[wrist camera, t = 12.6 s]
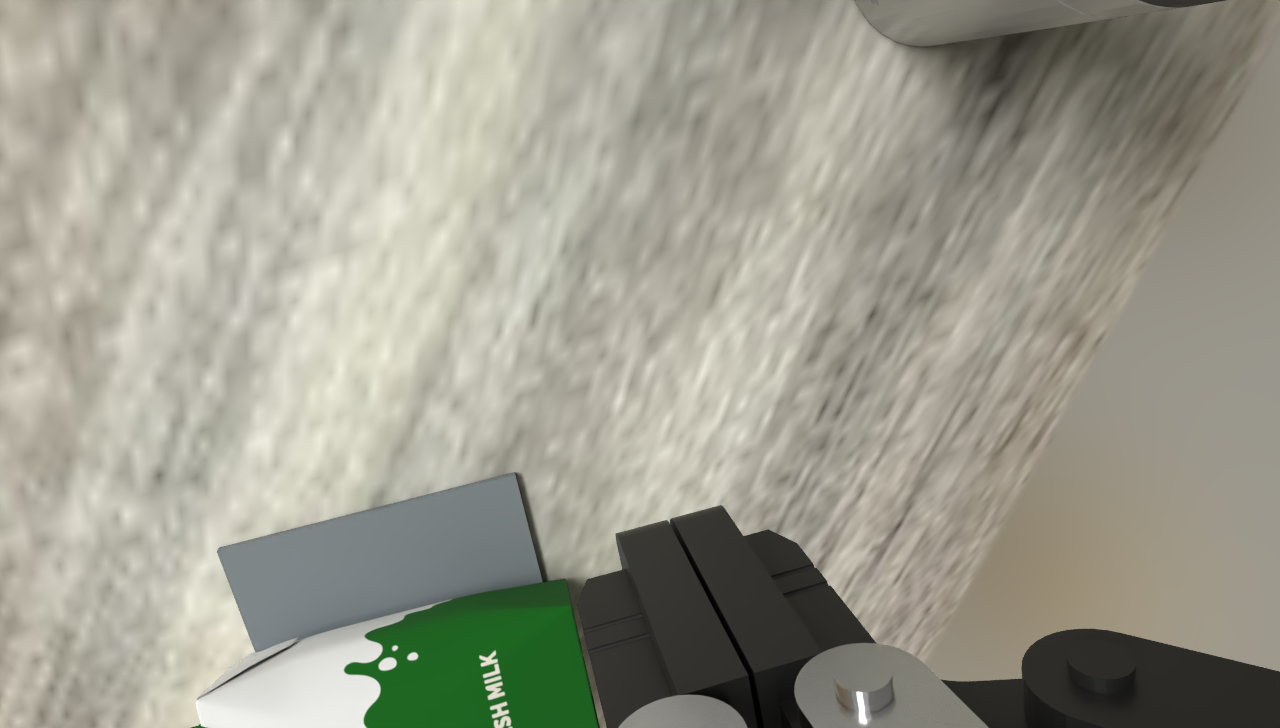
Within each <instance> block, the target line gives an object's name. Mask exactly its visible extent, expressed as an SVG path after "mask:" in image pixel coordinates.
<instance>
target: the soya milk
mask: <svg viewBox="0 0 1280 728" xmlns="http://www.w3.org/2000/svg"><path fill="white" fill-rule="evenodd" d="M573 614H574V612H573V608H572V603H571V599H570V594H569V590H568V586H567V583H566V579H560V580H554V581H548V582H542V583H536V584H530V585H524V586H519V587H513V588H507V589H500V590H494V591H488V592H482V593H477V594H472V595H468V596H463V597H459V598H454V599H450V600H446V601H442V602H438V603H434V604H430V605H427V606H423V607H419V608H415V609H411V610H407V611H403V612H399V613H395V614H391V615H388V616H384V617H380V618H376V619H372V620H368V621H364V622H360V623H357V624H353V625H349V626H345V627H341V628H337V629H334V630H330V631H327V632H323V633H320V634H316V635H313V636H310V637H307V638H304V639H301V640H297V639H298V637H297V638H294V639H291V640H288V641H285V642H283V643H280V644H277V645H275V646H272V647H270V648H268V649H265V650H263V651H260V652H256V653H251V654H249V655H248V656H246V657H245V658H244V659H243V660H242V661H241V662H239V663H237V664H235V665H233V666H231V667H230V668H228V669H227V670H226V671H225V672H224V674H223V675H222V676H221V677H220V678H219V679H217V680H216V681H215V682H214V683H213V684H212V685H211V686H210V687H209V688H208V689H206V690H205V691H204V692H203V693H202V694H201V695H200V696H199V697H198V698H197V699H196V700H195V702H196V708H197V713H198V716H199V720H200V723H201V724H200V725H199V726H195V727H192V728H600V727H599V723H598V718H597V714H596V709H595V705H594V700H593V696H592V695H591V694H592V691H591V690H590V689H591V687H590V686H589V685H590V682H588V681H589V678H588V677H587V676H588V674H587V673H586V672H587V669H586V665H585V661H584V660H583V659H584V657H583V655H582V654H583V653H582V651H581V650H582V648H581V643H580V642H579V641H580V639H579V638H578V637H579V635H578V633H577V632H578V630H577V629H576V628H577V626H576V624H575V623H576V621H575V620H574V619H575V617H574V616H573ZM296 640H297V641H296Z"/></svg>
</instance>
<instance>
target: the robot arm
mask: <svg viewBox="0 0 1280 728" xmlns="http://www.w3.org/2000/svg"><path fill="white" fill-rule="evenodd" d="M855 1H856V4H857V6H858V7H859V9H860V10H861V12H862V13H863V15H864V16H865V18H866V19H867V20H868V22H870V23H871V24H872V25H873V26H874V27H875V28H876V29H877V30H878V31H879V32H880V33H882V34H883V35H885V36H887V37H889V38H890V39H892V40H894V41H896V42H899V43H903V44H906V45H910V46H935V45H941V44H948V43H954V42H961V41H969V40H976V39H983V38H989V37H996V36H1002V35H1009V34H1015V33H1022V32H1028V31H1035V30H1042V29H1048V28H1055V27H1061V26H1068V25H1074V24H1081V23H1087V22H1094V21H1100V20H1107V19H1113V18H1120V17H1126V16H1130V15H1136V14H1143V13H1149V12H1156V11H1162V10H1169V9H1175V8H1182V7H1189V6H1195V5H1201V4H1207V3H1212V2H1218V1H1225V0H855ZM616 541H617V546H618V551H619V556H620V560H621V565H622V569H623V570H620V571H617V572H613V573H609V574H606V575H602V576H598V577H595V578H591V579H588V580H587V582H586V584H585V587H584V589H583V592H582V594H581V597H580V599H579V601H578V604H577V606H578V610H579V614H580V618H581V623H582V627H583V631H584V635H585V639H586V643H587V647H588V651H589V656H590V660H591V664H592V668H593V672H594V676H595V680H596V684H597V689H598V693H599V697H600V701H601V705H602V709H603V713H604V717H605V722H606V726H607V728H1280V672H1279V671H1275V670H1271V669H1267V668H1263V667H1258V666H1254V665H1250V664H1246V663H1242V662H1238V661H1234V660H1230V659H1225V658H1221V657H1217V656H1213V655H1209V654H1205V653H1201V652H1196V651H1192V650H1188V649H1184V648H1180V647H1176V646H1172V645H1168V644H1163V643H1159V642H1155V641H1151V640H1147V639H1143V638H1138V637H1135V636H1131V635H1126V634H1122V633H1118V632H1112V631H1107V630H1098V629H1074V630H1066V631H1061V632H1056V633H1053V634H1051V635H1048V636H1045V637H1044V638H1042V639H1040V640H1038V641H1036V642H1035V643H1034V644H1033V645H1031V646H1030V647H1029V649H1028V650H1027V651H1026V653H1025V655H1024V657H1023V660H1022V679H1010V680H992V681H972V682H956V681H946V680H940V679H939V678H938V677H937V676H936V675H935V674H934V673H933V672H932V671H931V670H930V669H929V668H928V667H927V666H926V665H925V664H924V663H923V662H922V661H920V660H919V659H918V658H917V657H915V656H913V655H912V654H910V653H908V652H906V651H903V650H901V649H899V648H895V647H892V646H888V645H882V644H877V643H876V642H875V641H874V640H873V638H872V637H871V636H870V635H869V633H868V632H867V631H866V630H865V628H864V627H863V626H862V625H861V623H860V622H859V621H858V619H857V618H856V617H855V616H854V614H853V613H852V612H851V611H850V609H849V608H848V607H847V606H846V604H845V603H844V602H843V601H842V599H841V598H840V597H839V596H838V594H837V593H836V592H835V591H834V589H833V588H832V587H831V586H828V584H827V581H826V579H825V578H824V577H823V575H822V574H821V573H820V572H819V570H818V569H817V568H814V565H813V563H812V562H811V560H810V559H809V558H808V557H807V555H806V554H805V553H804V552H803V550H802V549H801V548H800V547H799V545H798V544H797V543H795V542H793V541H791V540H789V539H787V538H785V537H783V536H781V535H779V534H777V533H774V532H772V531H770V530H765V531H761V532H758V533H754V534H750V535H747V536H743V535H742V533H741V532H740V531H739V529H738V528H737V526H736V525H735V523H734V522H733V520H732V519H731V517H730V516H729V514H728V513H727V511H726V510H725V509H724V507H723V506H721V505H720V506H716V507H712V508H709V509H705V510H701V511H698V512H694V513H690V514H686V515H683V516H679V517H675V518H672V519H670V524H669V522H668V521H667V520H665V521H661V522H657V523H654V524H650V525H646V526H643V527H639V528H635V529H631V530H628V531H624V532H620V533H616Z"/></svg>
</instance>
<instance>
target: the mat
mask: <svg viewBox="0 0 1280 728" xmlns="http://www.w3.org/2000/svg"><path fill="white" fill-rule="evenodd" d="M217 553H218V556H219V558H220V561H221V563H222V566H223V569H224V571H225V574H226V577H227V579H228V582H229V584H230V587H231V590H232V592H233V595H234V598H235V600H236V603H237V605H238V608H239V611H240V613H241V616H242V618H243V621H244V624H245V626H246V629H247V632H248V634H249V637H250V639H251V642H252V645H253V647H254V650H255V653H256V652H260V651H263V650H265V649H268V648H270V647H272V646H275V645H277V644H280V643H283V642H285V641H288V640H291V639H294V638H297V637H298V639H297V640H301V639H304V638H307V637H310V636H313V635H316V634H320V633H323V632H327V631H330V630H334V629H337V628H341V627H345V626H349V625H353V624H357V623H360V622H364V621H368V620H372V619H376V618H380V617H384V616H388V615H391V614H395V613H399V612H403V611H407V610H411V609H415V608H419V607H423V606H427V605H430V604H434V603H438V602H442V601H446V600H450V599H454V598H459V597H463V596H468V595H472V594H477V593H482V592H488V591H494V590H500V589H507V588H513V587H519V586H524V585H530V584H536V583H542V582H543V581H542V577H541V573H540V569H539V565H538V561H537V557H536V553H535V549H534V545H533V542H532V538H531V534H530V530H529V526H528V522H527V518H526V514H525V510H524V506H523V502H522V498H521V494H520V490H519V487H518V483H517V479H516V475H515V472H514V473H510V474H506V475H502V476H499V477H495V478H491V479H487V480H483V481H479V482H475V483H471V484H467V485H463V486H459V487H455V488H452V489H448V490H444V491H440V492H436V493H432V494H428V495H424V496H420V497H416V498H412V499H408V500H405V501H401V502H397V503H393V504H389V505H385V506H381V507H377V508H373V509H369V510H365V511H361V512H357V513H354V514H350V515H346V516H342V517H338V518H334V519H330V520H326V521H322V522H318V523H314V524H310V525H307V526H303V527H299V528H295V529H291V530H287V531H283V532H279V533H275V534H271V535H267V536H263V537H259V538H256V539H252V540H248V541H244V542H240V543H236V544H232V545H228V546H224V547H220V548H219V549H218V550H217ZM297 640H296V641H297Z"/></svg>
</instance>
